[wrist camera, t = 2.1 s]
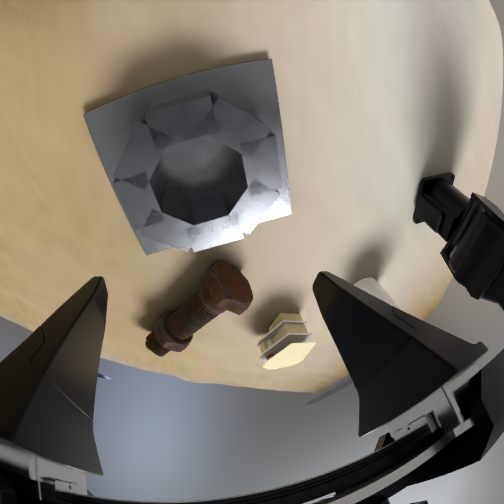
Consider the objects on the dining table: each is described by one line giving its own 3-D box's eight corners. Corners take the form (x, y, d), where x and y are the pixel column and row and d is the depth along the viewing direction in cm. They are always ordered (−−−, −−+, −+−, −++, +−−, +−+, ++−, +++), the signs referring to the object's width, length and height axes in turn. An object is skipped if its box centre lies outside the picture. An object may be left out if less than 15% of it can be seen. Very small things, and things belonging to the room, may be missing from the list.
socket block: (269, 58, 16) (288, 59, 13) (289, 210, 25) (305, 236, 22) (85, 113, 15) (66, 125, 12) (146, 251, 25) (144, 281, 22)
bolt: (149, 320, 34) (224, 252, 29) (177, 346, 35) (257, 285, 30) (128, 346, 29) (207, 275, 23) (160, 374, 29) (247, 315, 24)
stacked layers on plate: (264, 299, 34) (277, 335, 30) (319, 304, 37) (335, 335, 33) (236, 342, 39) (244, 375, 35) (286, 343, 43) (297, 372, 39)
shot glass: (386, 271, 36) (412, 307, 31) (368, 303, 40) (389, 337, 35) (350, 276, 34) (375, 317, 29) (333, 309, 39) (353, 347, 34)
